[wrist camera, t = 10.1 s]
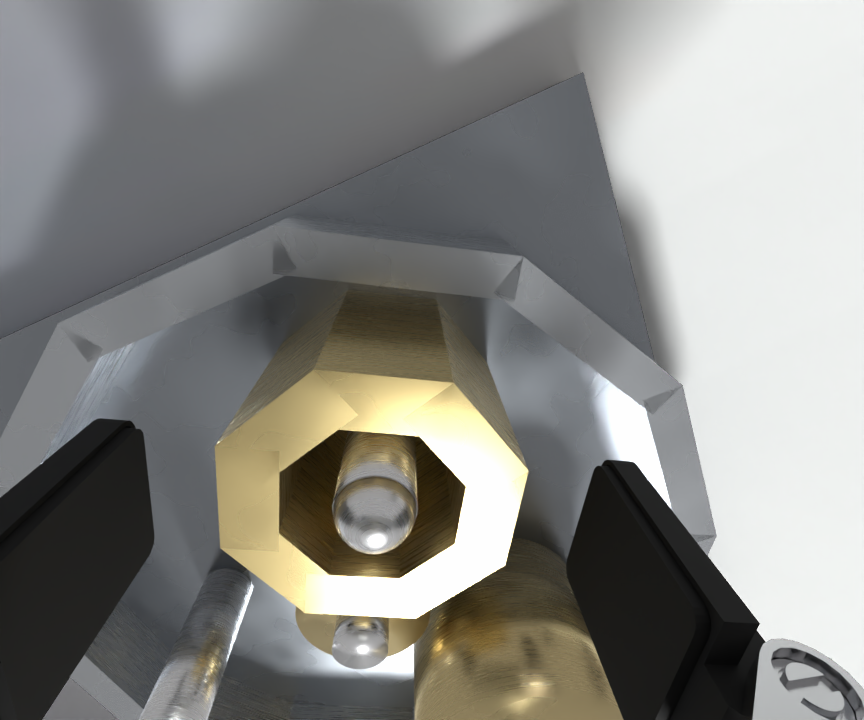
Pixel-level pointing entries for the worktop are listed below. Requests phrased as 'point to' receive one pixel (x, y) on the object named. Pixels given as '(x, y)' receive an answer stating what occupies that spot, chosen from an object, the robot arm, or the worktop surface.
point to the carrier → (366, 451)
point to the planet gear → (379, 413)
